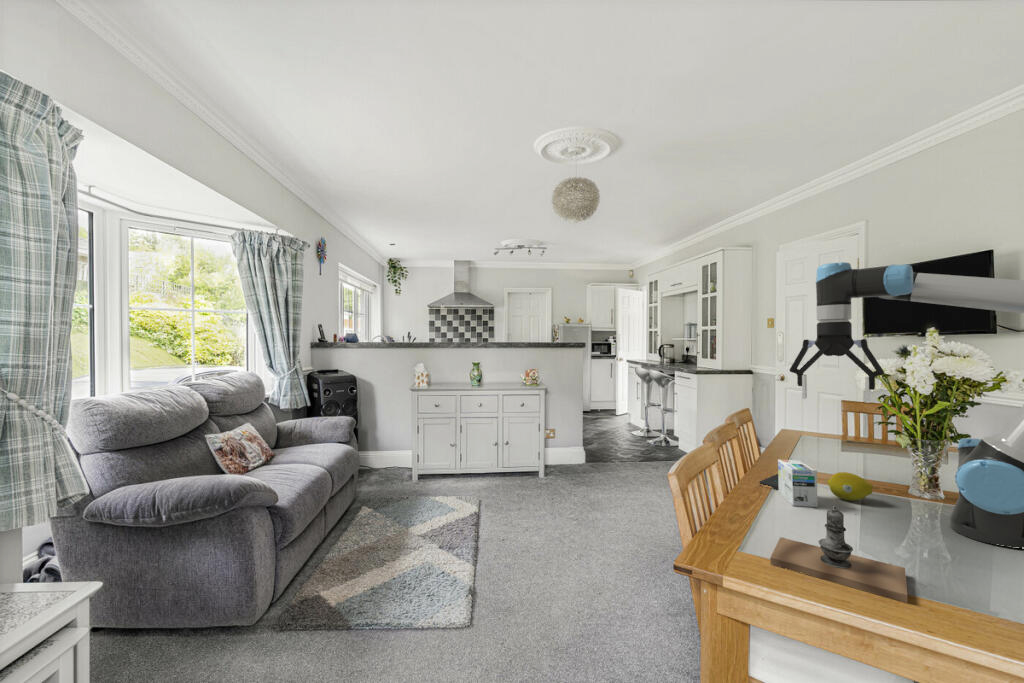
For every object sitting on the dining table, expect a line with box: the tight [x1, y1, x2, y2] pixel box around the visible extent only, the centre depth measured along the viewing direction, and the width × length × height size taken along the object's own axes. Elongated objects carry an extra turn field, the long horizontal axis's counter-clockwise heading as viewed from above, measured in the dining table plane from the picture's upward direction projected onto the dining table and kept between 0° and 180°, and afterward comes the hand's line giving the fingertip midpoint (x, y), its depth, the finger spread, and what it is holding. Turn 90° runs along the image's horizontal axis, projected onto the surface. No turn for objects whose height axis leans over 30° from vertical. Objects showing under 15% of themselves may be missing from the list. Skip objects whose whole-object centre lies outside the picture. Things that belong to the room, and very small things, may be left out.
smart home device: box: [759, 473, 779, 491], centre depth 145 cm, size 8×2×20 cm
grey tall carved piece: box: [817, 505, 854, 569], centre depth 91 cm, size 6×6×12 cm
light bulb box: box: [777, 459, 819, 508], centre depth 129 cm, size 11×7×11 cm, turn 169°
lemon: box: [826, 471, 874, 502], centre depth 128 cm, size 11×8×8 cm
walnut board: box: [770, 536, 909, 604], centre depth 91 cm, size 22×12×2 cm, turn 49°
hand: (834, 400), depth 117 cm, fingers open, 13 cm apart
